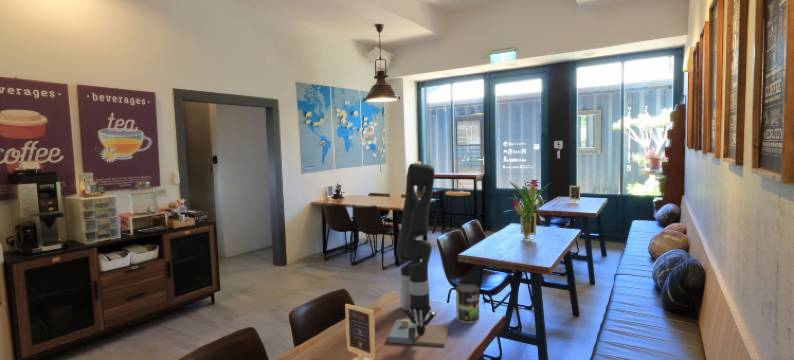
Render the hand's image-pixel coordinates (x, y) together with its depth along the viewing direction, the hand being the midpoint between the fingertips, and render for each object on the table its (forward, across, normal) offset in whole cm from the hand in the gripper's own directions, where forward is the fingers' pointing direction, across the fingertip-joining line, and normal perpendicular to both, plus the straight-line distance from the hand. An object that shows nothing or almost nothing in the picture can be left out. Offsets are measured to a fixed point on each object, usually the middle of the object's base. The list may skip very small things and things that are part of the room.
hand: (421, 334), depth 164 cm
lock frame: (+4, -4, +7) cm, 10 cm away
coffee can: (+5, +8, +31) cm, 32 cm away
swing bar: (+2, -3, +3) cm, 5 cm away
